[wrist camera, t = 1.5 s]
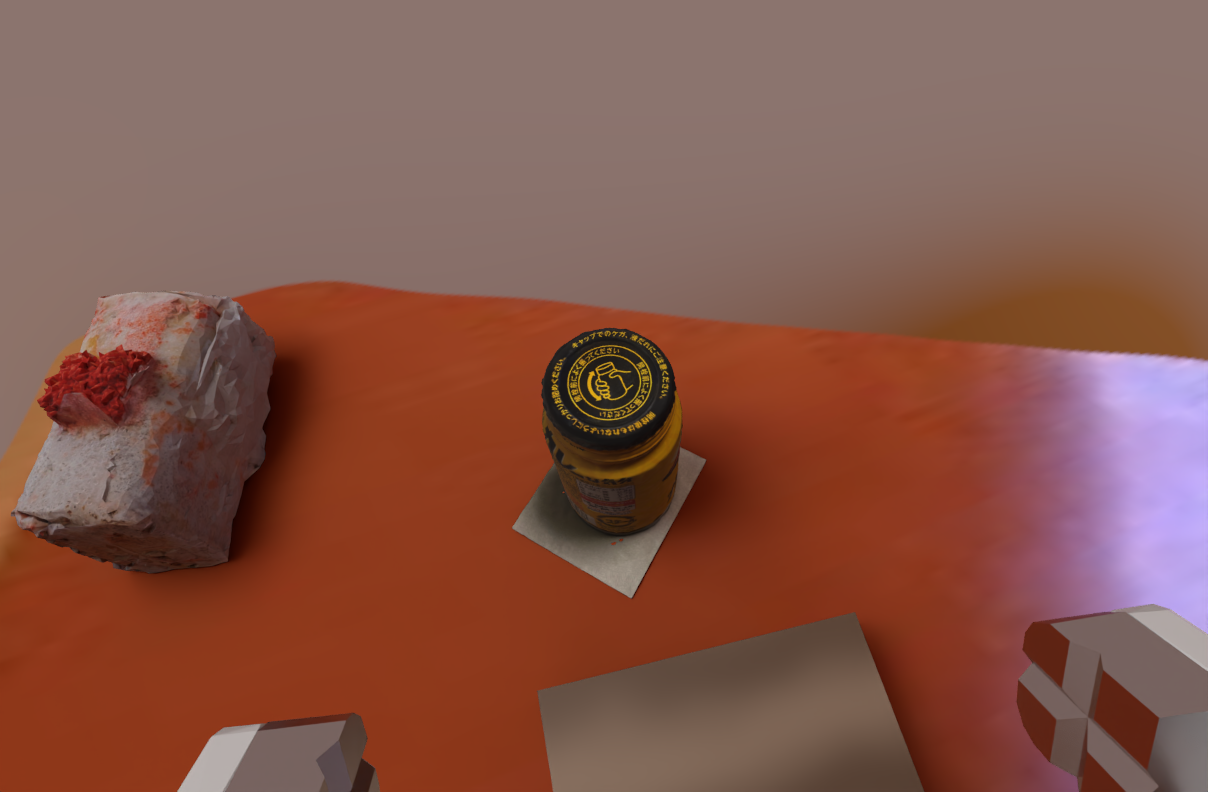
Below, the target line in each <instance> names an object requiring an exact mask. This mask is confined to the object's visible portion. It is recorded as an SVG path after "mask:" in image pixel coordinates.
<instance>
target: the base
mask: <svg viewBox="0 0 1208 792" xmlns="http://www.w3.org/2000/svg"><path fill="white" fill-rule="evenodd" d="M537 692H538V698H539V705H540V711H541V717H542V723H543V730H544V736H545V742H546V748H547V755H548V761H549V767H550V773H551V780H552V786H553V792H924V790H923V787H922V784H921V782H920V779H919V777H918V774H917V772H916V769H915V766H914V764H913V761H912V759H911V756H910V753H909V751H908V748H907V746H906V743H905V740H904V738H903V735H902V733H901V730H900V728H899V725H898V722H897V720H896V717H895V715H894V712H893V709H892V707H891V704H890V702H889V699H888V696H887V694H886V691H885V689H884V686H883V684H882V681H881V678H880V676H879V673H878V671H877V668H876V665H875V663H874V660H873V658H872V655H871V652H870V650H869V647H868V645H867V642H866V640H865V637H864V634H863V632H862V629H861V627H860V624H859V621H858V619H857V616H856V614H855V612H854V613H850V614H846V615H842V616H838V617H834V618H830V619H826V620H822V621H818V622H814V623H810V624H806V625H802V626H797V627H793V628H789V629H785V630H781V631H777V632H773V633H769V634H765V635H761V636H757V637H753V638H749V639H745V640H741V641H737V642H733V643H729V644H725V645H721V646H717V647H713V648H709V649H705V650H701V651H697V652H693V653H688V654H684V655H680V656H676V657H672V658H668V659H664V660H660V661H656V662H652V663H648V664H644V665H640V666H636V667H632V668H628V669H624V670H620V671H616V672H612V673H608V674H604V675H600V676H596V677H592V678H588V679H584V680H580V681H575V682H571V683H567V684H563V685H559V686H555V687H551V688H547V689H543V690H539V691H537Z"/></svg>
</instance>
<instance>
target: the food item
mask: <svg viewBox="0 0 1208 792" xmlns="http://www.w3.org/2000/svg"><path fill="white" fill-rule="evenodd" d="M95 316H96V317H95V318H94V319H92V323H91V326H90V328H89V329H88V331H87V332H86V334H85V337H84V340H83V343H82V347H81V350H80V353H76V354H72V355H68V356H65V358H66V359H65V360H64V361H62V363H63V364H62V365H61V366H60V369H61V370H60V372H59V373H58V374H56V375H54V376H52V377H49V378H47V379H45V383H46V384H47V385H48V386H49V387H48V389H44V390H45V391H46V394H45V395H44V396H42V397H41V398H40V399H38V400H37V401H38V403H39V404H40V407H43V408H45V409H44V410H45V411H47V416H48V417H50V418H51V419H52V420H53V421H54V422H53V426H52V429H51V432H50V434H49V435H48V439H47V440H46V441H45V443H44V446H43V448H42V450H41V452H40V453H39V454H38V459H37V461H36V463H35V465H34V467H33V469H32V471H31V473H30V475H29V477H28V479H27V481H26V483H25V488H24V493H23V494H22V495H21V497H20V498H19V499H18V504H17V506H16V508H15V509H14V510H13V511H12V512H11V516H15V517H16V520H17V523H18V526H19V527H21V528H22V529H23V530H29V531H31V532H33V533H34V534H35V535H36V536H37V537H38V538H42V539H45V540H46V541H47V542H49V543H52V544H55V545H57V546H60V547H70V548H71V550H73V551H74V552H75V553H78V554H81V555H84V556H88V557H90V558H92V559H95V560H98V561H100V562H106V561H109V562H112V563H113V567H114V568H116V569H121V570H126V571H133V570H134V571H145V572H147V573H157V572H163V571H168V570H172V569H182V568H196V567H205V566H213V565H216V564H219V563H223V562H228V557H229V548H230V542H231V532H232V521H233V518H234V517H235V516H236V512H237V509H238V505H239V502H240V498H241V494H242V490H243V485H244V482H245V481H246V480H247V479H248V478H249V477H250V476H251V475H252V474H253V473H254V472H256V471H257V470H258V469H259V468H260V467H261V464H262V463H263V461H264V460H265V455H266V453H265V450H264V448H265V441H266V435H265V433H264V431H263V429H262V427H263V424H264V422H265V419H266V417H267V415H268V413H269V411H270V404H269V400H268V395H267V390H268V386H269V382H270V377H271V376H272V375H273V371H272V367H273V363H274V360H275V358H276V357H277V356H276V353H275V351H274V347H275V345H274V339H273V337H271V336H267V335H266V333H265V331H264V329H262V328H261V327H259V326H258V325H257V324H256V323H255V322H253V321H251V319H250V317H249V316H248V315H247V314H246V313H245V312H244V309H243V307H242V306H241V305H240V304H239V303H237V302H233V301H232V300H231V299H230V298H229V297H228V296H227V297H219V296H216V295H212V296H203V295H201V294H199V293H196V292H179V291H160V292H153V293H141V292H131V293H128V294H119V295H111V296H104V297H99V298H98V304H97V308H96V312H95ZM125 567H126V568H125ZM124 568H125V569H124Z"/></svg>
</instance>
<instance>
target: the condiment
mask: <svg viewBox="0 0 1208 792" xmlns="http://www.w3.org/2000/svg"><path fill="white" fill-rule="evenodd" d="M674 379H675V377H674V373H673V369H672V367H671V364H670V362H669V361H668V359H667V357H666V356H665V355H664V353H663V352H662V351H661V350H660V348H659V347H658V346H657V345H656V344H654V343H653V342H652V341H650V340H648V339H646V338H645V337H643V336H641V335H639V334H637V333H635V332H633V331H629V330H627V329H616V328H604V329H599V330H594V331H590V332H584V333H582V334H580V335H579V336H577V337H575V338H574V339H572V340H571V341H569V342H568V343H566V344H564V345H563V346H562V347H560V348H559V349H558V350H557V352H556V353H555V355H554V357H553V359H552V360H551V361H550V363H549V365H548V367H547V369H546V373H545V376H544V378H543V379H542V382H541V383H542V385H543V389H542V394H541V396H542V398H543V406H544V409H543V418H542V425H543V432H544V435H545V439H546V443H547V445H548V448H549V450H550V453H551V455H552V459H553V460H554V464H553V466H552V468H551V469H550V470H549V471H548V473H547V474H546V476H545V478H544V480H543V481H542V483H541V484H540V486H539V487H538V489H537V490H536V492H535V494H534V495H533V497H532V498H531V500H530V501H529V503H528V504H527V506H526V507H525V509H524V510H523V511H522V513H521V514H520V516H519V518H518V519H517V521H516V522H515V524H514V526H513V527H512V529H514V530H516V531H517V532H519V533H521V534H522V535H525V536H526V537H527V538H529V539H531V540H532V541H534V542H536V543H537V544H539V545H541V546H542V547H544V548H546V549H548V550H549V551H551V552H552V553H554V554H556V555H558V556H560V557H561V558H563V559H564V560H566V561H568V562H570V563H571V564H573V565H575V566H576V567H578V568H580V569H581V570H583V571H585V572H587V573H589V574H590V575H592V576H594V577H595V578H597V579H599V580H601V581H602V582H604V583H606V584H607V585H609V586H611V587H613V588H614V589H616V590H618V591H620V592H621V593H623V594H625V595H626V596H628V597H630V598H632V596H633V595H634V593H635V591H636V589H637V587H638V585H639V583H640V582H641V580H642V578H643V576H644V574H645V573H646V571H647V569H648V567H649V565H650V563H651V561H652V559H653V557H654V556H655V554H656V552H657V550H658V548H659V546H660V545H661V543H662V541H663V539H664V537H665V536H666V534H667V532H668V530H669V528H670V527H671V525H672V523H673V521H674V519H675V517H676V516H677V514H678V512H679V510H680V508H681V506H682V505H683V503H684V501H685V499H686V497H687V495H688V494H689V492H690V490H691V488H692V486H693V484H694V482H695V480H696V479H697V477H698V475H699V473H700V471H701V469H702V468H703V466H704V464H705V462H706V459H704V458H701V457H699V456H698V455H695V454H693V453H691V452H689V451H687V450H685V449H683V448H681V447H680V442H681V435H682V427H683V425H682V407H681V403H680V400H679V397H678V394H677V391H676V385H675V381H674ZM563 491H564V492H565V493H562V492H563ZM619 539H624V540H623V541H622V542H620V541H619ZM613 542H616V545H611V543H613Z"/></svg>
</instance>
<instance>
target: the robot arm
mask: <svg viewBox="0 0 1208 792" xmlns="http://www.w3.org/2000/svg"><path fill="white" fill-rule="evenodd" d="M1023 651H1024V652H1025V654H1026V655H1027V656H1028V658H1029V659H1030V660H1031V662H1032V664H1031V665H1030V666H1029V667H1028V669H1027V670H1026V671H1025V672H1024V673H1023V675H1022V676H1021V677H1020V678H1019V679H1018V691H1017V705H1018V709H1019V712H1020V716H1021V719H1022V722H1023V726H1024V727H1025V729H1026V731H1027V733H1028V734H1029V736H1030V738H1031V740H1032V741H1033V743H1034V744H1035V746H1036V747H1037V748H1038V749H1039V750H1040V752H1041V753H1042V754H1043V755H1044V756H1045V757H1046V759H1047V760H1048V761H1049V762H1050V763H1052V764H1053V765H1055V766H1057V767H1059V768H1061V769H1063V770H1065V771H1066V772H1068V773H1070V774H1072V775H1074V776H1076V777H1077V779H1078V788H1079V792H1208V634H1207V633H1205V632H1204V631H1202V630H1201V629H1199V628H1198V627H1196V626H1195V625H1193V624H1192V623H1190V622H1189V621H1187V620H1186V619H1184V618H1183V617H1181V616H1180V615H1178V614H1177V613H1175V612H1174V611H1172V610H1170V609H1167V608H1164V607H1161V606H1158V605H1155V604H1150V605H1143V606H1137V607H1130V608H1124V609H1117V610H1113V611H1111V612H1101V613H1094V614H1087V615H1080V616H1073V617H1066V618H1059V619H1052V620H1045V621H1038V622H1033V623H1032V624H1031V625H1030V627H1029V628H1028V630H1027V631H1026V632H1025V637H1024V644H1023ZM367 739H368V738H367V735H366V732H365V729H364V725H363V722H362V719H361V716H359V715H357V714H355V713H347V714H338V715H329V716H320V717H310V718H301V719H292V720H283V721H273V722H268V723H267V724H255V725H245V726H236V727H226V728H223V729H221V730H220V731H219V732H217V733H216V734H215V735H213V736H212V737H211V738H210V739H209V741H208V743H207V744H206V746H205V747H204V749H203V751H202V752H201V754H200V756H199V757H198V759H197V760H196V762H195V764H194V765H193V767H192V769H191V770H190V772H189V773H188V775H187V777H186V778H185V780H184V782H183V783H182V785H181V786H180V788H179V790H178V791H177V792H380V789H379V782H378V778H377V774H376V770H375V768H374V767H373V766H372V765H370V764H369V763H368V762H366V761H365V760H364V759H362V754H363V751H364V748H365V745H366V742H367Z"/></svg>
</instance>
